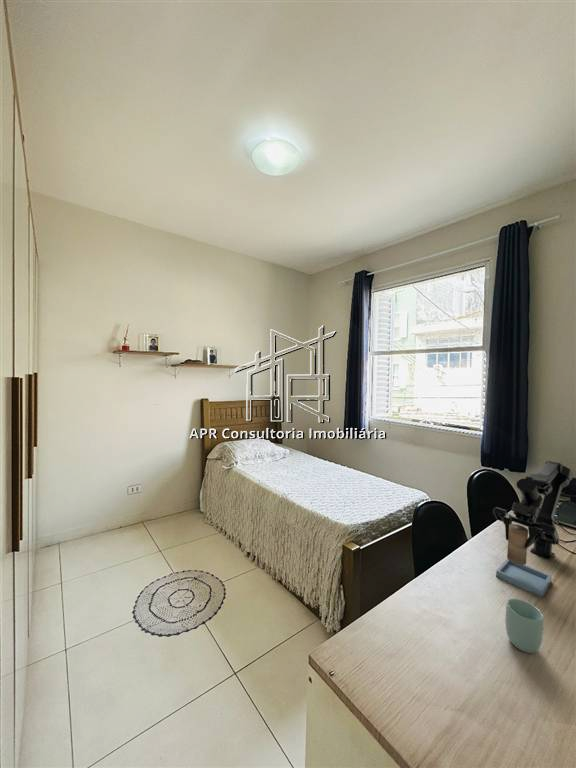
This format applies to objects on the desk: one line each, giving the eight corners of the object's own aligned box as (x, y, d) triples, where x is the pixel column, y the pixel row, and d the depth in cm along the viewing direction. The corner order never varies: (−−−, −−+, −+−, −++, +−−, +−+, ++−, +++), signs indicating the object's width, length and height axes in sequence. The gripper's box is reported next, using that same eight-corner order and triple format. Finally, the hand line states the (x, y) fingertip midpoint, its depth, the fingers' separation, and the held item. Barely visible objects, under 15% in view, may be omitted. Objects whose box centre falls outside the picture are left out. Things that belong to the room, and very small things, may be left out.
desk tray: (507, 563, 118) (508, 557, 118) (551, 582, 108) (551, 576, 108) (496, 576, 110) (496, 570, 110) (541, 598, 100) (542, 591, 100)
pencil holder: (507, 553, 114) (509, 522, 114) (525, 559, 111) (527, 527, 110) (507, 560, 110) (509, 528, 109) (526, 567, 106) (528, 533, 106)
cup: (527, 634, 85) (530, 599, 85) (548, 660, 77) (551, 622, 77) (498, 631, 86) (500, 596, 85) (516, 656, 78) (518, 619, 78)
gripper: (496, 486, 119) (481, 520, 114) (557, 504, 104) (544, 545, 98) (503, 501, 124) (489, 535, 118) (563, 521, 109) (550, 561, 103)
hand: (516, 543), depth 109 cm, fingers closed on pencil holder, 5 cm apart
